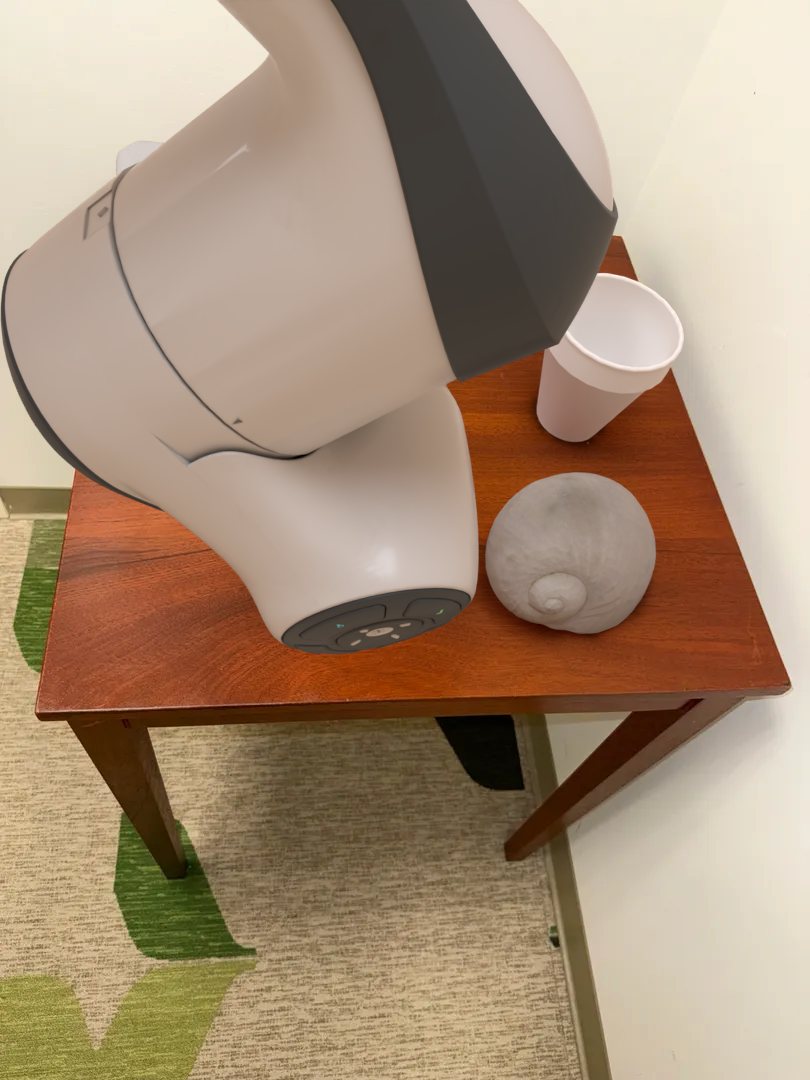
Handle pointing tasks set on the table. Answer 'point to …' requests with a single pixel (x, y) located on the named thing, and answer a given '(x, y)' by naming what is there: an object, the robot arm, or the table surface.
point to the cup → (607, 357)
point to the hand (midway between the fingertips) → (321, 129)
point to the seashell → (571, 553)
